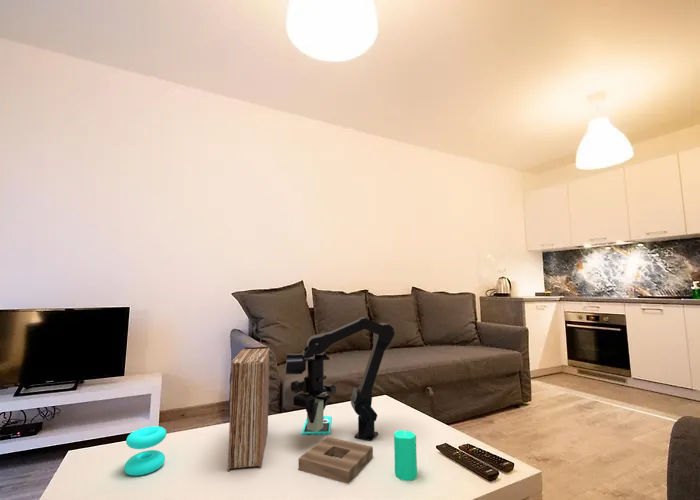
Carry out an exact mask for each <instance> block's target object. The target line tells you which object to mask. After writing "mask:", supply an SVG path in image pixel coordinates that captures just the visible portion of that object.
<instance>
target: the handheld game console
mask: <svg viewBox="0 0 700 500" xmlns="http://www.w3.org/2000/svg"><path fill="white" fill-rule="evenodd" d="M331 424H332V416H331V415H325V416H324V415H323V428H322V429H321V430H319V431H318V432H315V431H311V430H307V417H306V418H305V422H304V425H303V428H302V431H301V435H302V436H318V435H319V436H323V435H324V436H328V435H330V433H331Z"/></svg>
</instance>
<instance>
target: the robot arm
mask: <svg viewBox="0 0 700 500" xmlns="http://www.w3.org/2000/svg"><path fill="white" fill-rule="evenodd" d="M363 330H367V331H368V332H370V333H373V336H372V339H373V340H372V343H373V345H372V348H371V352H370V355H369V358H368V361H367V363H366V367H365V370H364V373H363V377H362V379H361V381H360V385H359V386H358V387H355V386H354V387H353V389H352V393H351V396H350V397H349V399H350V404H351V407H352V408H353V411H354V412H355V414H357V416H358V417H357V419H358V420H357V427H358V429H357V431H358V432H357V433H356V434H355V435H354V438H357V439H361V440H366V441H373V440H374V439H375V438H376V437H377V436H378V435H379V432H378V431H375V428H376V427H375V422H376V421H377V418H378V414H377V412H376V411H375V410H374V408H373V407H372V401H373V388H374V385H375V383H376V378H377V377H378V373H379V369H380V367H381V363H382V361H383V357H384V354H385V351H386V349H387V348H388V347H389V346H390V345H391V343H392V341H393V338H394V337H395V334H396V333H395V329H394V327H393V326H392V325H390V324H387V323H385V322H380V323H378V322H375V321H372V320H370V319H369V318H367V317H364V316H360V317H358V318H357V319H355V320H354V321H351V322H349V323H346V324H345V325H342V326H340V327H338V328H335V329H333V330H331V331H328V332H323V333H322V332H320V333H318V334H313V335H311V336H309V338H308V339H307V342H306V346H305V347H304V349H303V350H302V352H301V353H286V362H285V375H286V376H288V375H290V376H291V375H303V373H304V372H305V371H306V372H307V373H306V374H307V375H306V376H304V378H303V380H301V381H298V380H294V381H292V382H290V391H291V392H292V393H294V394H296V395H295V396H294V397H293V398H292V406H295V407H302V408H304V409H305V411H306V415H307V414H308V417H309V420H310V423H314V419H315V416H316V412H317V408H318V404H319V403H316V399H320V400H323V412H324V411H325V408H326V406H327V404H328V402H329V400H330V398H331V395H335V394H336V392H337V387H336V385H335V384H334V383H326V382H325V380H326V379H327V375H325V361H330V359H331V358H330V357H329V355H328V354H327V353H326V350H327V349H329V348H330V347H331V346H332V345H333V344H335V343H337V342H339V341H341V340H343V339H345V338H347V337H350V336H352V335H354V334H356V333H359V332H361V331H363ZM321 353H322V354H321ZM306 365H307V366H306ZM306 367H307V368H306ZM306 369H307V370H306ZM327 392H329V393H330V394H331V395H328V393H327ZM297 393H299V394H297Z"/></svg>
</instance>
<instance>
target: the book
mask: <svg viewBox="0 0 700 500" xmlns="http://www.w3.org/2000/svg"><path fill="white" fill-rule="evenodd" d="M230 370H231V373H230V374H231V375H230V376H231V377H230V398H229V399H230V401H229V402H230V403H229V404H230V405H229V427H228V450H227V451H228V454H227V456H228V458H227V472H230V470H231V469H241V468H252V467H259V469H262V465H263V461H264V456H265V449H266V444H267V438H268V432H269V398H270V397H269V393H270V391H269V390H270V346H263V347H262V346H261V347H244V348H242V349H241V350H240V352H238V354H237V355H236V356H235V357H234V358H233V359H232V360H231V369H230Z"/></svg>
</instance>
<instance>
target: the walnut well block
mask: <svg viewBox="0 0 700 500" xmlns="http://www.w3.org/2000/svg"><path fill="white" fill-rule="evenodd" d="M373 450H374V447H373V446H372V445H366V444H362V443H357V442H353V441H349V440H348V441H347V440H344V439H341V438H335V437H331V436H326V437H325V438H324V439H323V440H320V442H318V443H317V444H316V445H314V446H313V447H312V448H310V449H309V450H308V451H306V452H305V453H303V454H302V455H301V456H300V457H298V470H299V471H303V472H305V473H310V474H313V475H316V476H320V477H324V478H325V479H326V478H327V479H330V480H334V481H337V482H340V483H345V484H348V485H349V484H350V483H351V482H352V481H353V480H354V479H355V478H356V477H357V475H358V474H359V473H360V472H361V471H362V470H363V469H364V468H365V467H366V466H367V464H368V463H369V462H370V461H371V460H372V459H373V457H374V451H373Z"/></svg>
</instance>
